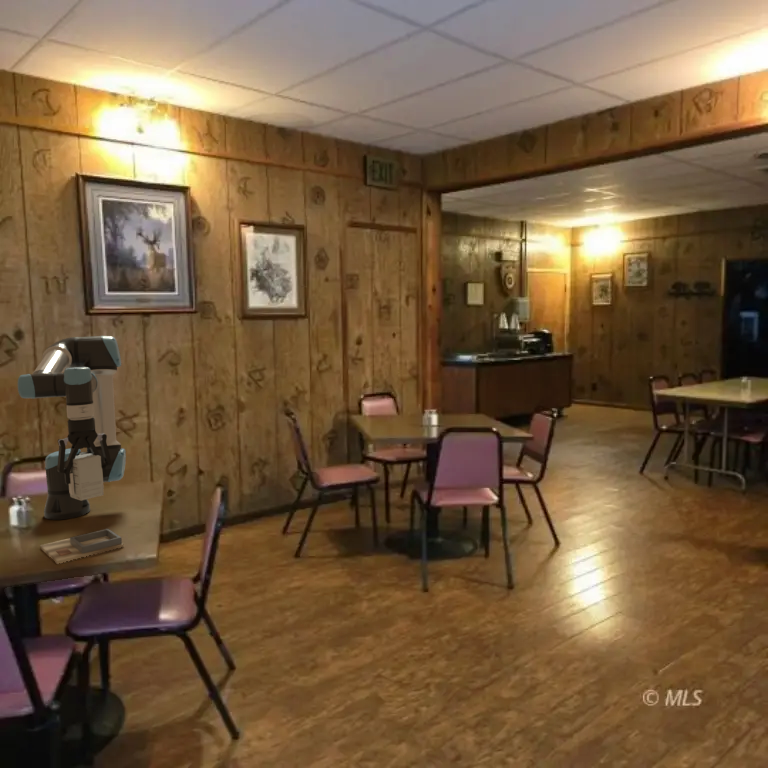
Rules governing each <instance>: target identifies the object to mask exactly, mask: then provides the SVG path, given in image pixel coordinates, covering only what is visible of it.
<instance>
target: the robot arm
mask: <svg viewBox="0 0 768 768" xmlns="http://www.w3.org/2000/svg"><path fill="white" fill-rule="evenodd" d="M41 358H42V359H41V361H40V362H39V364H38V365H37V366H36V367H35V369H34V371H33V372H32V373H26V374H20V375H19V377H18V379H17V393H18V394H19V396H20V398H22V399H32V400H34V399H43V398H57V397H58V398H60V397H65V404H66V418H67V432H68V433H67V436H66V437H65V438H62V439H61V438H59V439H57V444H58V451H54V452H51V453H49V454H48V455H46V457H45V458H44V459H45V462H44V463H45V465H44V466H45V467H44V470H45V477H46V488H47V489H46V490H47V498H46V502H45V506H44V509H43V515H44V516H43V517H44V519H46V520H53V521H54V520H55V521H56V520H69V519H74V518H78V517H81V515H82V516H84V515H87V514H89V512H91V504H90V501H89V499H85V500H82V501H81V500H78V499H75V498H72V497H70V494H71V495H74V494H75V493H74V481H73V473H71V472H70V471H71V468H72V465H73V459H75V457H76V456H78V455H83V454H89V453H90V454H93V455H99V456H101V467H102V480H103V483H110V482H116V481H117V482H118V481H120V480H122V479H123V477H124V475H125V469H126V461H127V460H126V458H127V455H126V454H127V451H126V449H125V448H124V447H123V448H122V444H121V442H120V441H118V440H117V432H116V431H117V429H116V426H117V425H116V409H115V406H116V405H115V390H114V385H115V384H114V376H115V375H116V374H117V373H118V368H119V367H121V366H122V359H121V353H120V349H119V345H118V341H117V339H116V338H115V337H114V336H111V335H94V336H71V337H70V336H69V337H66V338H62V339H60V340H58V341H55V342H54V343H52V344H51V345H49V346H48V347H47V348H46V349H45V350H44V351H43V354H42V356H41ZM68 442H69V443H70V444H71V446H70V448H66V446H67V445H68ZM82 449H86V451H82ZM67 457H68V460H67ZM103 490H105V487H104V484H103ZM86 513H87V514H86Z"/></svg>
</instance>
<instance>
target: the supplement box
mask: <svg viewBox="0 0 768 768" xmlns="http://www.w3.org/2000/svg"><path fill="white" fill-rule="evenodd" d="M67 460H68V457H67ZM70 472H71V473H73V481H74V493H75V494H74V495H71V494H70V497H72V498H75V499H78V500H81V501H82V500H85V499H88V500H89V499H93V498H97V497H103V496H104V489H103V485H104V482H103V480H102V467H101V456H99V455H93V454H90V453H89V454H83V455H78V456H76V457H75V459H73V465H72V468H71V471H70Z"/></svg>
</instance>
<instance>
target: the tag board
mask: <svg viewBox="0 0 768 768" xmlns="http://www.w3.org/2000/svg"><path fill="white" fill-rule="evenodd" d="M70 538H71V537H70ZM70 538H66V539H65V538H64V539H61V540H56V541H52V542H48V543H44V544H43V543H42V544H40V545H39V546H40V550H41V551H43V552H44V553H45V554H46V555H47V556H48V557H49V558H50V557H51V558H52V559H53V560H54V561H55V564H57V565H60V564H64V563H67V562H66V561H68V562H71V561H70V560H72V561H74V560H73V559H76V560H78V559H77V558H80V559H82V558H81V557H84V558H86V556H87V557H90V556H89V555H91V556H94V555H93V554H95V555H98V554H97V553H99V554H102V553H101V552H103V553H106V552H105V551H107V552H110V551H109V550H111V551H114V550H117V549H116V548H118V549H122V548H124V543H122V544H118V545H115V546H111V547H107V548H103V549H99V550H95V551H91V552H87V553H83V554H82V553H81V552H80V551H79V550H77V549H76V548H75V547H74V546H72V545H71V544H70ZM109 539H111V538H109V537H108V536H104V537H100V538H96V539H92V540H88V541H84V542H80V543H81V544H82V545H83V546H85V545H89V544H93V543H97V542H101V541H105V540H109ZM121 547H122V548H121ZM113 549H114V550H113ZM51 558H50V559H51ZM52 559H51V560H52ZM53 560H52V561H53ZM54 561H53V562H54ZM63 562H64V563H63ZM59 563H60V564H59Z"/></svg>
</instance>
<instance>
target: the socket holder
mask: <svg viewBox="0 0 768 768" xmlns="http://www.w3.org/2000/svg"><path fill="white" fill-rule="evenodd" d="M104 536H108V537H109V538H111V539H109V540H105V541H101V542H97V543H93V544H89V545H85V546H83V545H82V544H81V543H80V542H84V541H88V540H92V539H96V538H100V537H104ZM70 544H71V545H72V546H74V547H75V548H76V549H77V550H79V551H80V552H81V553H82V554H83V553H87V552H91V551H95V550H99V549H103V548H107V547H111V546H115V545H118V544H123V541H122V537H121V536H120V535H119V534H117V533H116V532H114V531H112V530H111V529H109V528H105V529H101V530H96V531H93V532H89V533H84V534H78V535H75V536H72V537H70Z"/></svg>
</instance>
